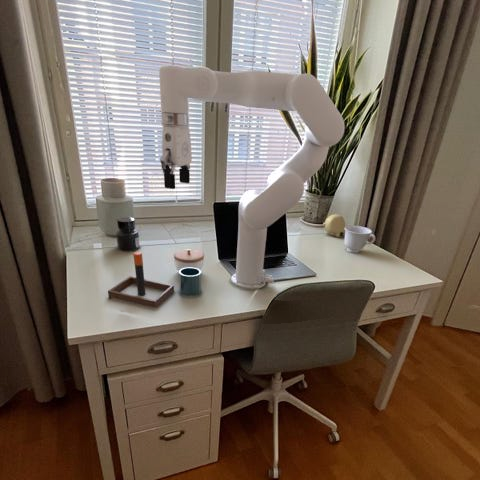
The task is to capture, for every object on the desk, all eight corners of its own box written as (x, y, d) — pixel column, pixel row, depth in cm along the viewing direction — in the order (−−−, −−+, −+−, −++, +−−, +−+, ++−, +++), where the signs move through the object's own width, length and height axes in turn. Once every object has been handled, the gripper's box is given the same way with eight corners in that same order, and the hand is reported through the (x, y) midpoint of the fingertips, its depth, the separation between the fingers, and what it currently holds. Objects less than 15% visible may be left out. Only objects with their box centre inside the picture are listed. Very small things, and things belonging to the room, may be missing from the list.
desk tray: (174, 292, 115) (173, 285, 114) (155, 309, 105) (155, 301, 104) (130, 283, 119) (129, 276, 118) (108, 298, 109) (107, 291, 108)
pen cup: (204, 289, 118) (204, 269, 114) (195, 298, 112) (195, 277, 108) (185, 286, 120) (184, 265, 116) (176, 294, 114) (175, 273, 110)
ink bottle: (143, 249, 146) (140, 221, 139) (122, 253, 141) (118, 224, 135) (135, 242, 152) (132, 215, 146) (114, 245, 148) (111, 217, 141)
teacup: (362, 259, 151) (368, 237, 146) (334, 249, 161) (339, 227, 155) (377, 254, 158) (383, 232, 153) (349, 244, 168) (354, 223, 162)
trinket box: (206, 279, 125) (206, 254, 120) (176, 281, 122) (175, 256, 117) (200, 267, 134) (200, 243, 129) (172, 269, 131) (171, 245, 126)
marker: (147, 293, 112) (143, 252, 105) (143, 296, 110) (139, 255, 103) (140, 291, 113) (136, 251, 106) (136, 295, 111) (131, 253, 104)
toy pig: (330, 244, 177) (348, 234, 170) (317, 224, 175) (336, 212, 168) (335, 238, 184) (352, 228, 177) (323, 219, 182) (341, 208, 175)
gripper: (173, 122, 88) (175, 192, 97) (200, 121, 102) (200, 182, 112) (147, 120, 90) (151, 189, 99) (177, 119, 104) (179, 179, 113)
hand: (177, 185), depth 105 cm, fingers open, 9 cm apart
